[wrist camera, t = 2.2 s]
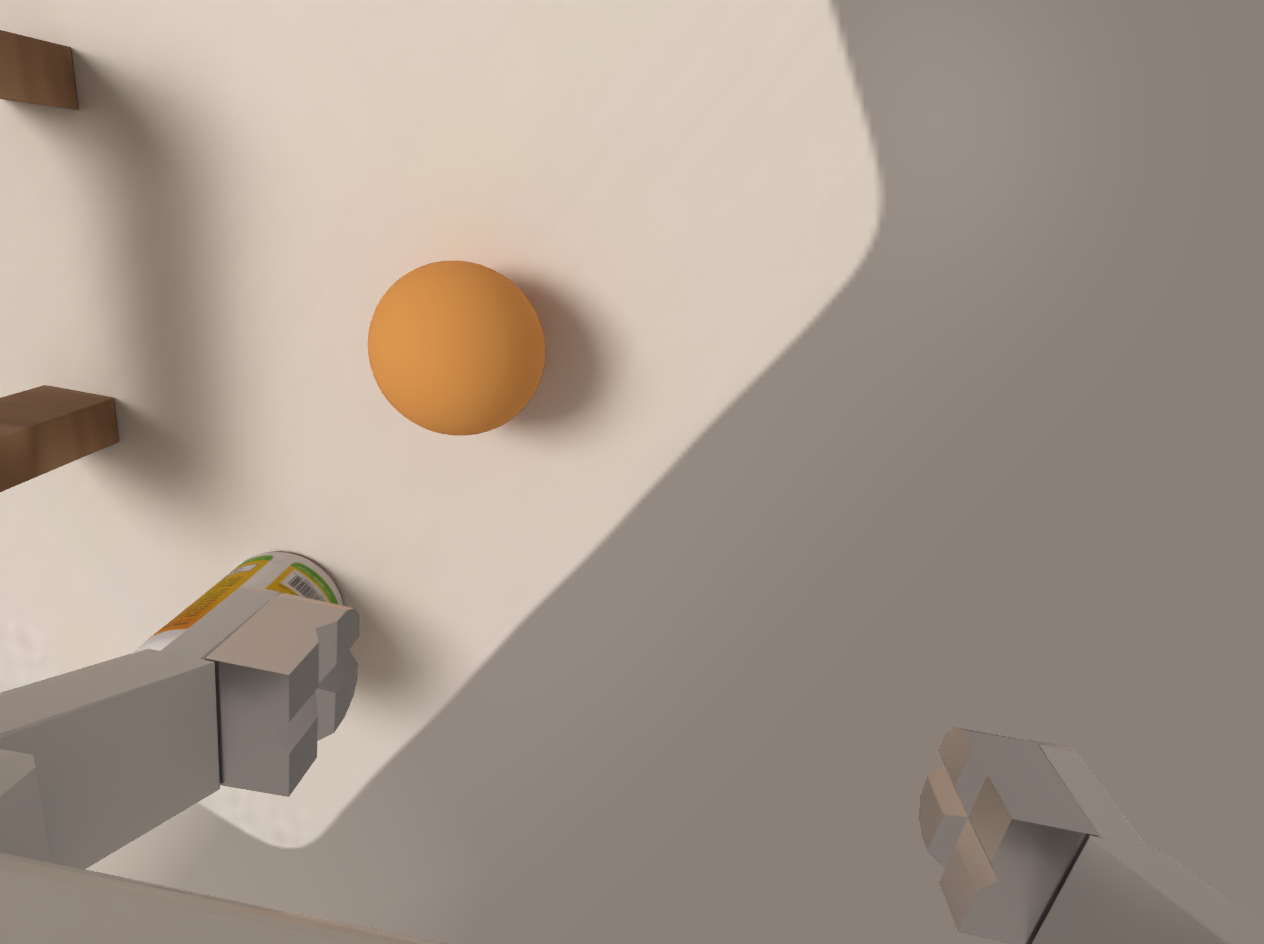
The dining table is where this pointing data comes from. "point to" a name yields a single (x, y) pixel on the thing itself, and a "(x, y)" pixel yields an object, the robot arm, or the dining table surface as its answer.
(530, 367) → the ball
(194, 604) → the supplement bottle
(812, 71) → the dining table surface
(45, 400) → the bridge
